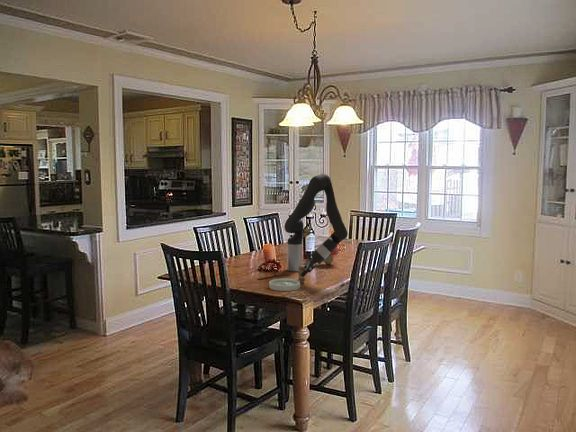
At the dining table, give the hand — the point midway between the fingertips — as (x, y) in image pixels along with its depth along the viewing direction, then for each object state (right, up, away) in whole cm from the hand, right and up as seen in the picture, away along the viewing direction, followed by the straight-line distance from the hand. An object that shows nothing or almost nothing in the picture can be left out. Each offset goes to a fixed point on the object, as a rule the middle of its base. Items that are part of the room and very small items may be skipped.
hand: (300, 274), depth 290 cm
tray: (-9, -6, -8) cm, 14 cm away
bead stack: (0, -5, +1) cm, 5 cm away
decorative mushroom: (+20, 0, +52) cm, 56 cm away
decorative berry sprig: (-18, -4, +21) cm, 28 cm away
